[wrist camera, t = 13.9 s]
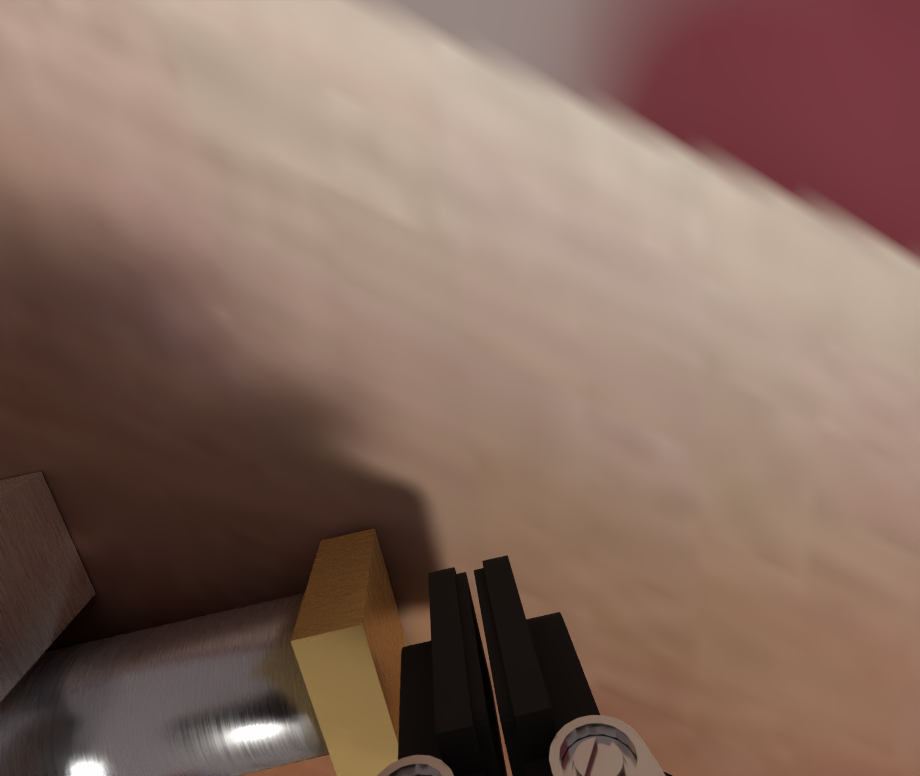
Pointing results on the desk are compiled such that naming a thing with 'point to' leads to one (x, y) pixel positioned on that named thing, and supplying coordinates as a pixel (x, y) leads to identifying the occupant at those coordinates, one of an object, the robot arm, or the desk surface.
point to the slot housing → (34, 576)
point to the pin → (225, 686)
